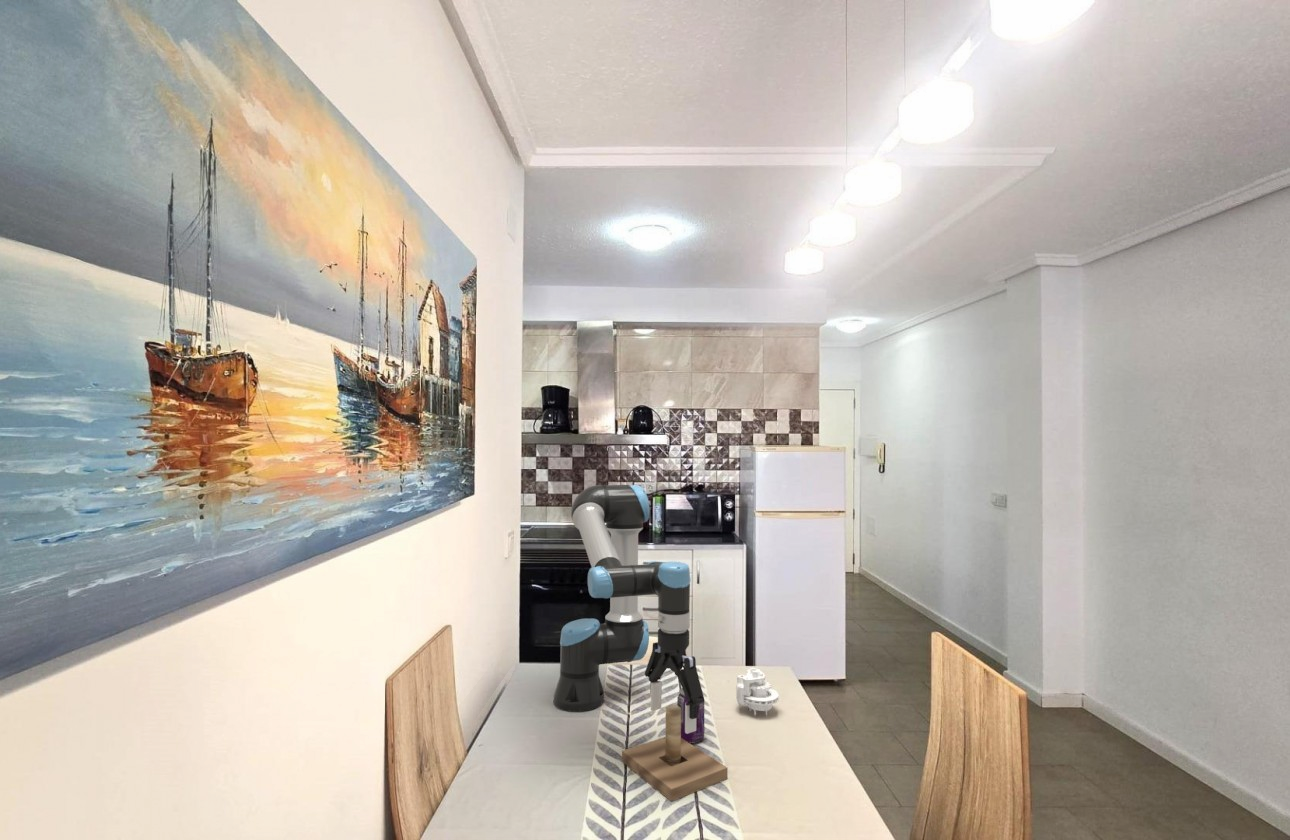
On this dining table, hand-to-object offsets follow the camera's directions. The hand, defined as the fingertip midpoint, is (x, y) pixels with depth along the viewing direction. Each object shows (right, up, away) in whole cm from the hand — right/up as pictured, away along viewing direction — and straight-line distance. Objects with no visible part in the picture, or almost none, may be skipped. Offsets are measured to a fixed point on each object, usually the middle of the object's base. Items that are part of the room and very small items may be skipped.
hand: (672, 720), depth 139 cm
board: (0, -11, -1) cm, 11 cm away
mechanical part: (+26, -14, +31) cm, 43 cm away
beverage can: (+5, -12, +15) cm, 20 cm away
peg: (0, -11, -1) cm, 11 cm away
